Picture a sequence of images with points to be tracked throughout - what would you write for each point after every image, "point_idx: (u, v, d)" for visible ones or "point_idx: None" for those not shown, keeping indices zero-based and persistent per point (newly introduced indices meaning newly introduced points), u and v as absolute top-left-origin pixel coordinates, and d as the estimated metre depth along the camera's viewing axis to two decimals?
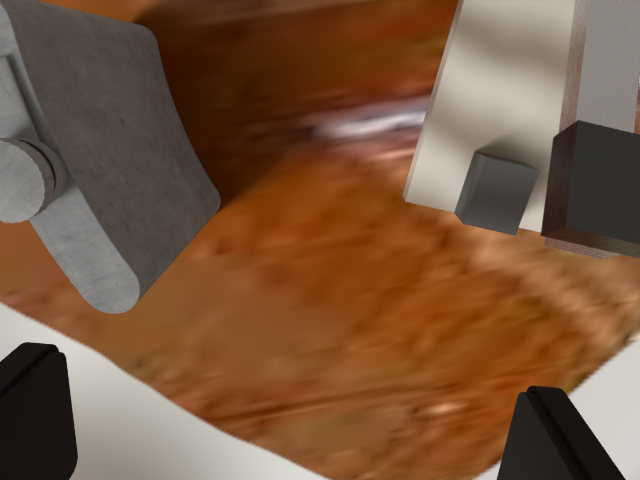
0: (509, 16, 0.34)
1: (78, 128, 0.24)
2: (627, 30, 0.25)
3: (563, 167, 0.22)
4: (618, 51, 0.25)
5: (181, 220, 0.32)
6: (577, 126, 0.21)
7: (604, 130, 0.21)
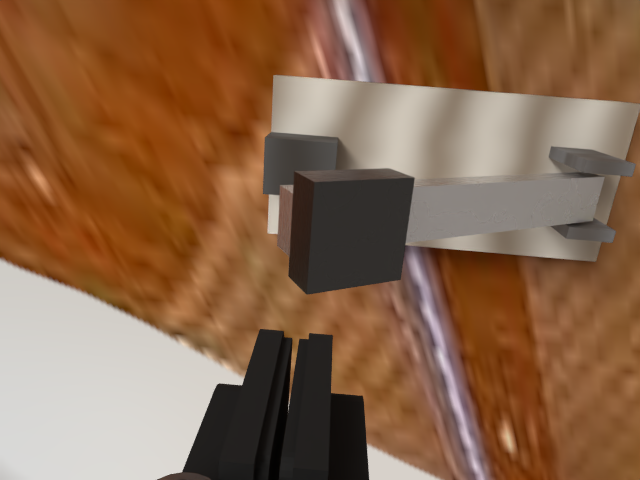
0: (467, 139, 0.35)
1: None
2: (480, 220, 0.27)
3: (367, 175, 0.21)
4: (464, 215, 0.27)
5: None
6: (408, 178, 0.21)
7: (407, 205, 0.22)
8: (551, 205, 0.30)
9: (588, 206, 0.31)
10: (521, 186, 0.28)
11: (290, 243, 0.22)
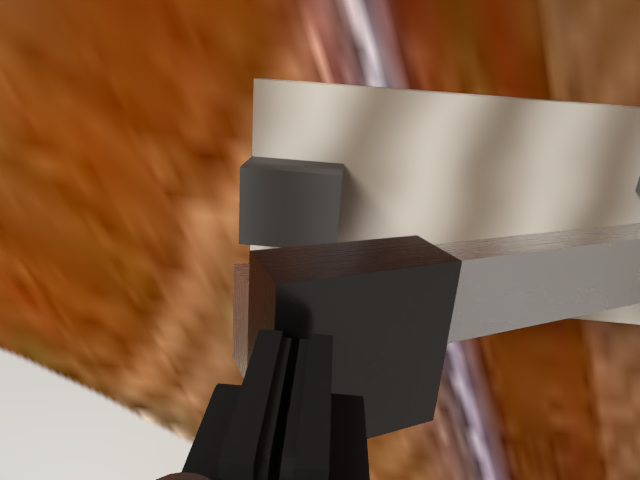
0: (522, 166, 0.25)
1: None
2: (556, 301, 0.18)
3: (378, 258, 0.12)
4: (533, 297, 0.17)
5: None
6: (451, 262, 0.12)
7: (447, 306, 0.13)
8: None
9: None
10: (619, 247, 0.18)
11: (247, 365, 0.13)
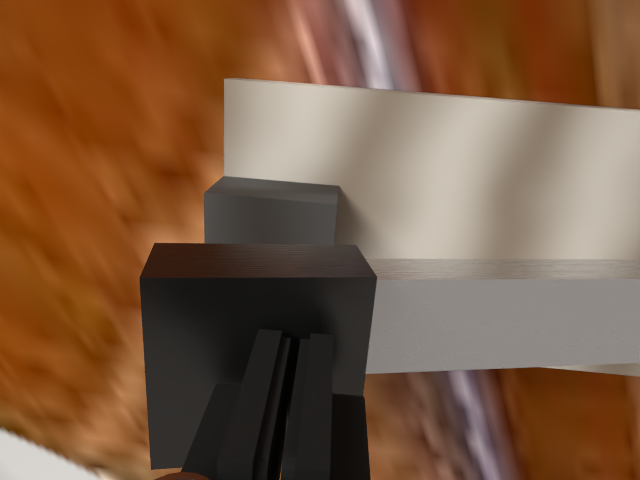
0: (564, 190, 0.20)
1: None
2: (559, 342, 0.15)
3: (282, 263, 0.11)
4: (523, 333, 0.14)
5: None
6: (363, 277, 0.11)
7: (362, 327, 0.11)
8: None
9: None
10: None
11: None
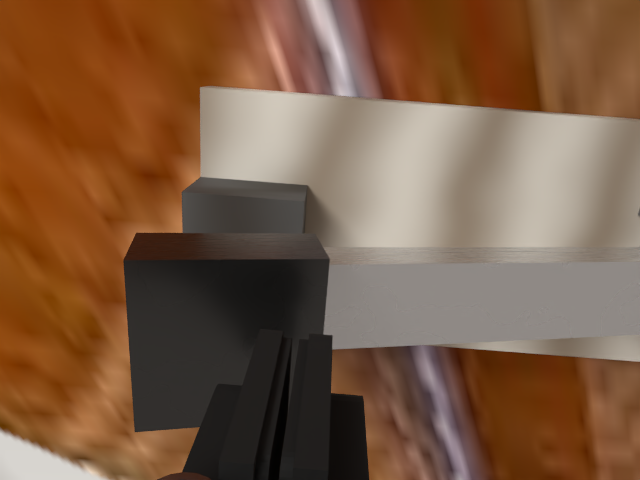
0: (511, 187, 0.22)
1: None
2: (498, 320, 0.17)
3: (248, 249, 0.13)
4: (466, 311, 0.16)
5: None
6: (318, 259, 0.12)
7: (318, 302, 0.13)
8: None
9: None
10: (579, 269, 0.17)
11: None
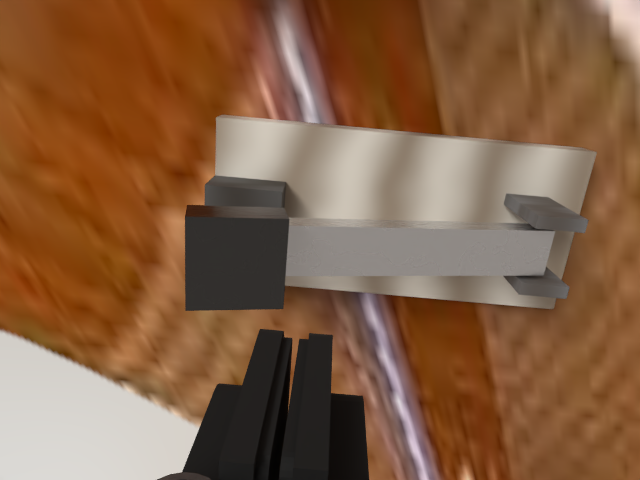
0: (420, 185, 0.34)
1: None
2: (394, 262, 0.28)
3: (247, 213, 0.24)
4: (374, 256, 0.28)
5: None
6: (283, 219, 0.24)
7: (284, 242, 0.24)
8: (483, 255, 0.29)
9: (535, 260, 0.30)
10: (442, 233, 0.28)
11: None
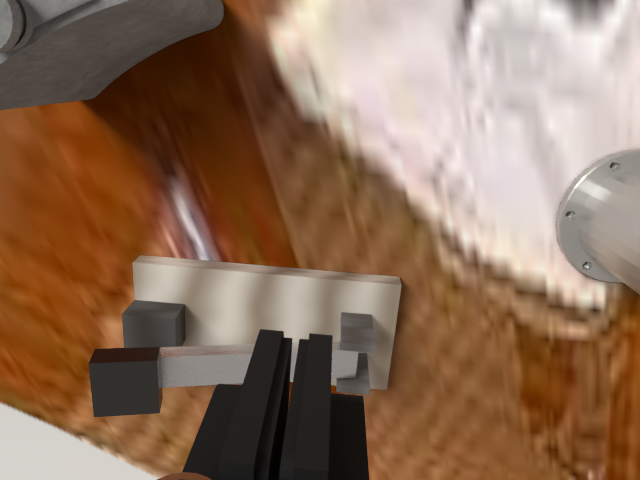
0: (279, 306, 0.47)
1: (69, 38, 0.28)
2: (242, 375, 0.42)
3: (131, 356, 0.38)
4: (227, 372, 0.42)
5: (38, 99, 0.35)
6: (153, 360, 0.38)
7: (155, 374, 0.38)
8: None
9: (347, 368, 0.44)
10: None
11: None
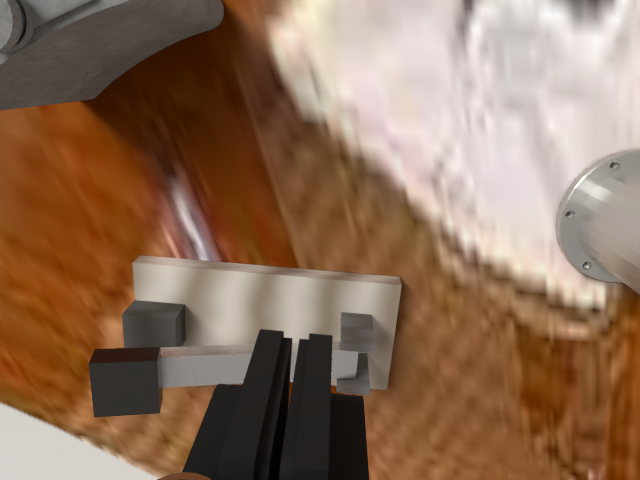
0: (279, 306, 0.47)
1: (69, 38, 0.28)
2: (242, 375, 0.42)
3: (131, 356, 0.38)
4: (227, 372, 0.42)
5: (38, 100, 0.35)
6: (153, 361, 0.38)
7: (155, 374, 0.38)
8: None
9: (347, 368, 0.44)
10: None
11: None
